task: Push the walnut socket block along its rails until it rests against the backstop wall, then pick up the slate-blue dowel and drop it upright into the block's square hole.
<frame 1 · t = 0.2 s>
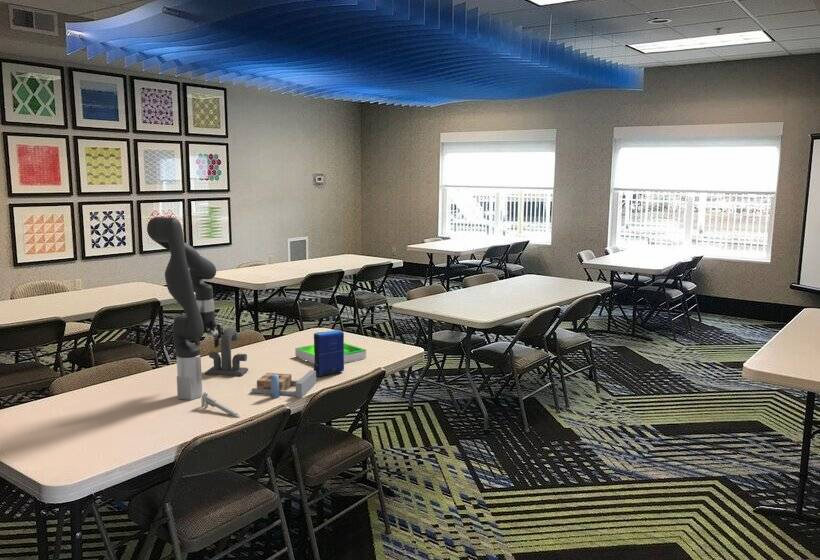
hand: (207, 346, 272), 17 cm above the table, tool pointing down, fingers open, 8 cm apart
backstop: (306, 390, 270), on the table
dowel: (275, 396, 262), on the table
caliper: (220, 412, 245), on the table
socket block: (274, 382, 272), point 3 cm above the table, slide at 7.0 cm
tray: (330, 359, 320), on the table
book: (328, 374, 293), on the table
faucet: (230, 371, 297), on the table
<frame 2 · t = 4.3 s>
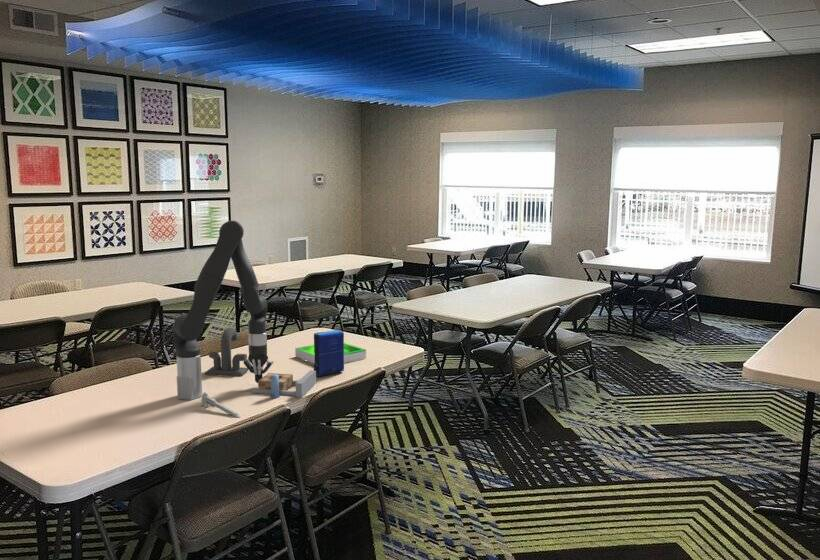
hand: (258, 382, 274), 2 cm above the table, tool pointing down, fingers closed
socket block: (275, 382, 272), point 3 cm above the table, slide at 6.4 cm, touching gripper
everything else where it was.
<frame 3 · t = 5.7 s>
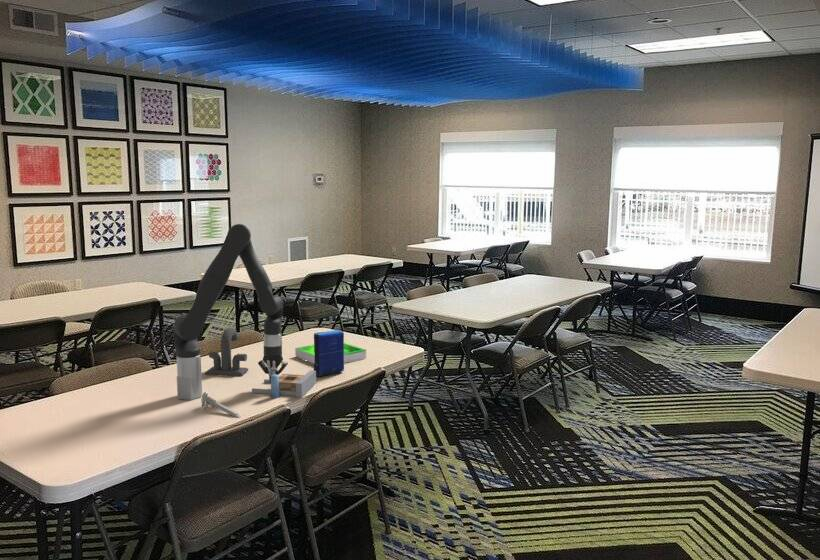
hand: (273, 383, 272), 2 cm above the table, tool pointing down, fingers closed
socket block: (290, 383, 271), point 3 cm above the table, slide at 0.0 cm, touching gripper
everything else where it was.
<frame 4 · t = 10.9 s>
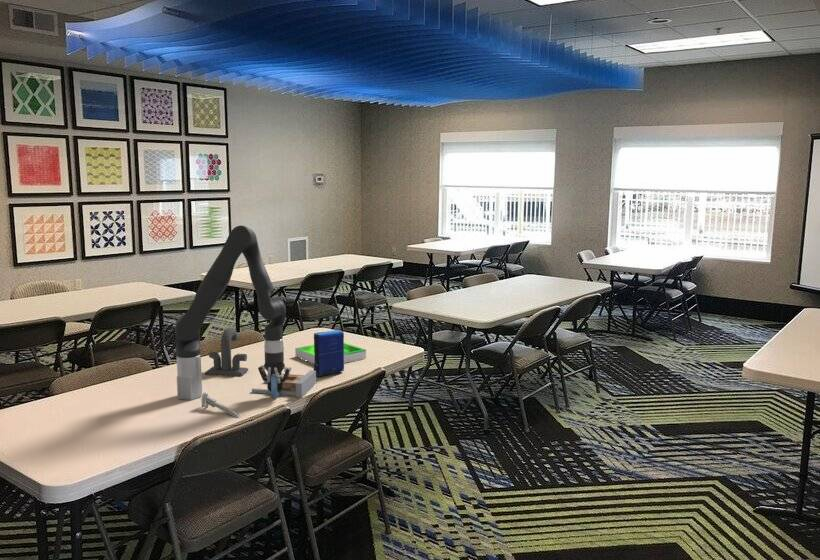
hand: (275, 390, 262), 3 cm above the table, tool pointing down, fingers closed on dowel, 3 cm apart
dowel: (275, 396, 262), on the table, touching gripper
socket block: (290, 383, 271), point 3 cm above the table, slide at 0.0 cm
everything else where it was.
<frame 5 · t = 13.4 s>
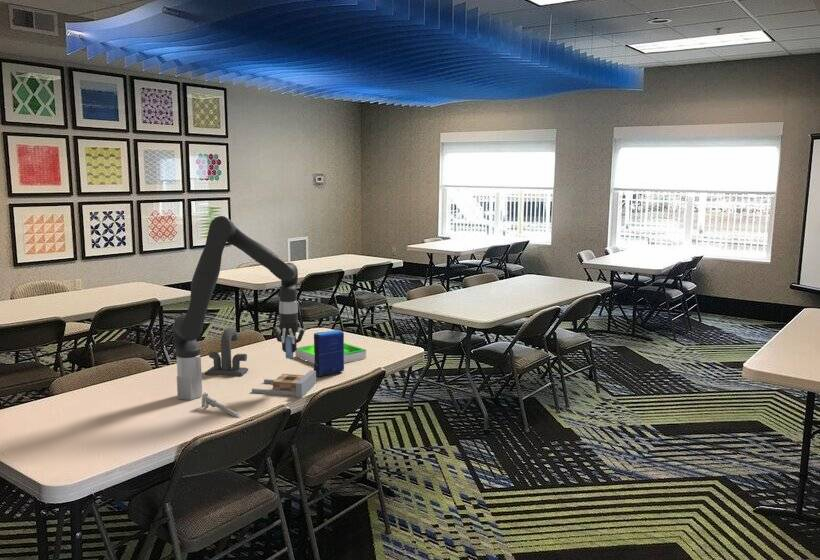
hand: (289, 351, 269), 16 cm above the table, tool pointing down, fingers closed on dowel, 3 cm apart
dowel: (289, 357, 269), point 14 cm above the table, touching gripper
everything else where it was.
when the fingers open (6 cm above the table, at t = 15.9 s): dowel drops 4 cm, on the table.
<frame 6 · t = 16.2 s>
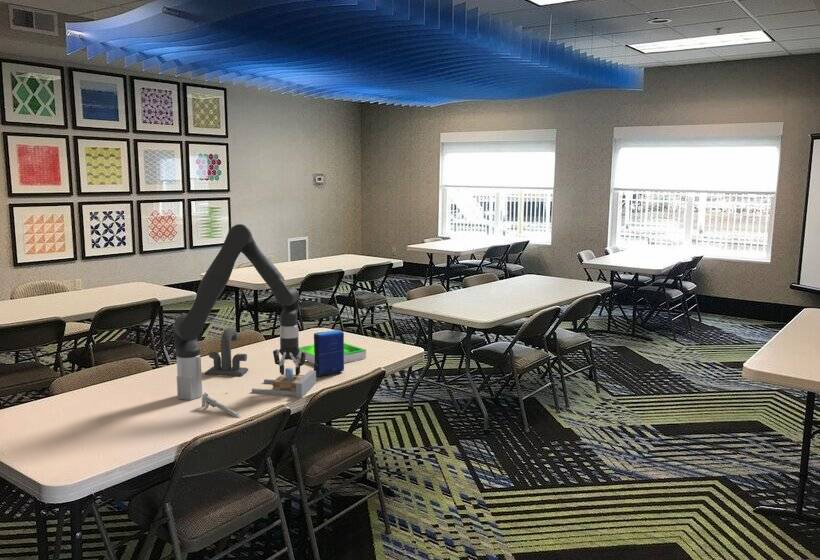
hand: (290, 374, 270), 7 cm above the table, tool pointing down, fingers open, 6 cm apart
dowel: (289, 389, 271), on the table
everything else where it was.
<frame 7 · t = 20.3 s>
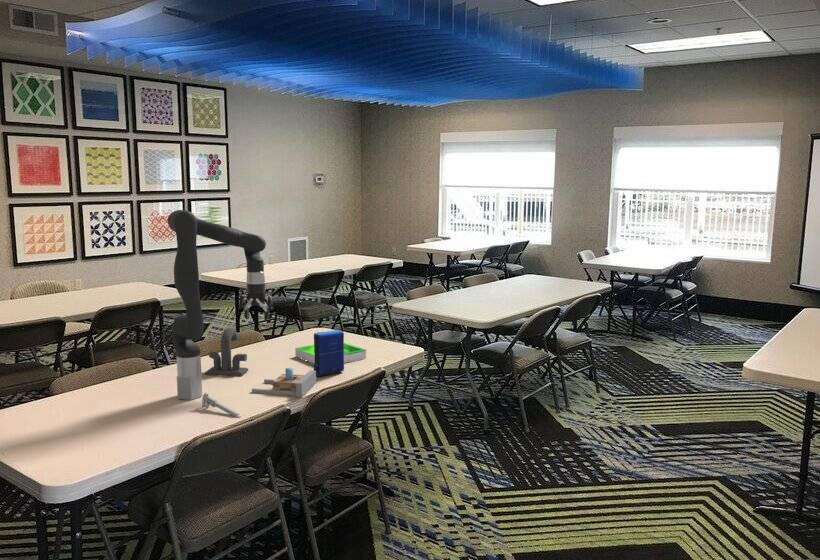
hand: (256, 319, 276), 28 cm above the table, tool pointing down, fingers open, 8 cm apart
nothing on the table moved.
at the end: socket block slide at 0.0 cm; dowel 0.3 cm from the target spot, on the table; dowel tilted 0° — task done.
